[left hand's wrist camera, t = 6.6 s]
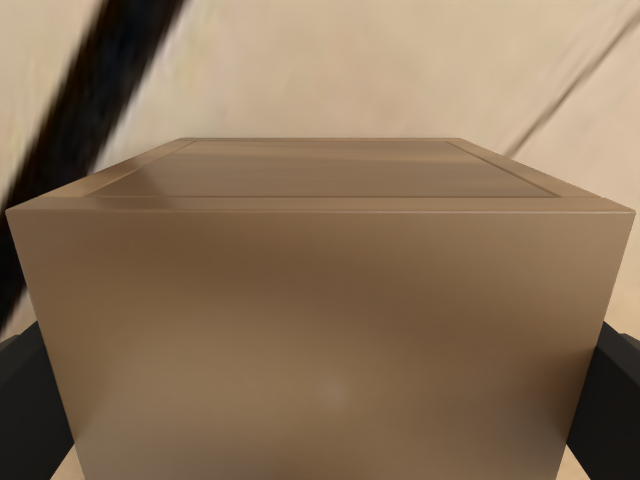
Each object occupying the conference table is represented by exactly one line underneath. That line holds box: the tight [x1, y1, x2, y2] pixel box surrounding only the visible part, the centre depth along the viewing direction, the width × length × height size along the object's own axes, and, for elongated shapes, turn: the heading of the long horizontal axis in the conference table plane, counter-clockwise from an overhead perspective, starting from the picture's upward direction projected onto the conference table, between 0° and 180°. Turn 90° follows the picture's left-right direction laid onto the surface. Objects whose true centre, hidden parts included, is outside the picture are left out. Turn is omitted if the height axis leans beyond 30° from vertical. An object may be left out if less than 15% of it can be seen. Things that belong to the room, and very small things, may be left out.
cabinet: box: [5, 138, 636, 480], centre depth 15 cm, size 21×11×10 cm, turn 0°
